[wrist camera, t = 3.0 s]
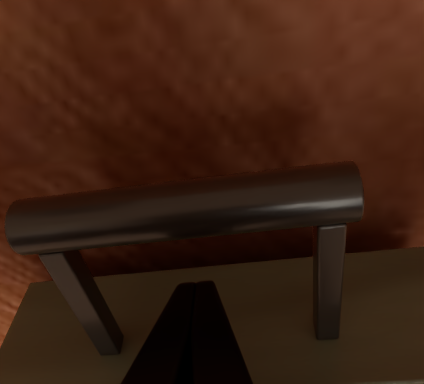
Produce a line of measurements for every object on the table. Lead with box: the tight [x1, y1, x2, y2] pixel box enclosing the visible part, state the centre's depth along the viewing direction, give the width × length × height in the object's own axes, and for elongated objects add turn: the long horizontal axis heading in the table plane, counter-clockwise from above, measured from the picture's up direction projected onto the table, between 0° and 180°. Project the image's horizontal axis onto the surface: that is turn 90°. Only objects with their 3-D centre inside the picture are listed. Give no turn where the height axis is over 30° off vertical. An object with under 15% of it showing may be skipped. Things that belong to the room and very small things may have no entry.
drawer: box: [0, 161, 424, 384], centre depth 14 cm, size 17×13×4 cm
